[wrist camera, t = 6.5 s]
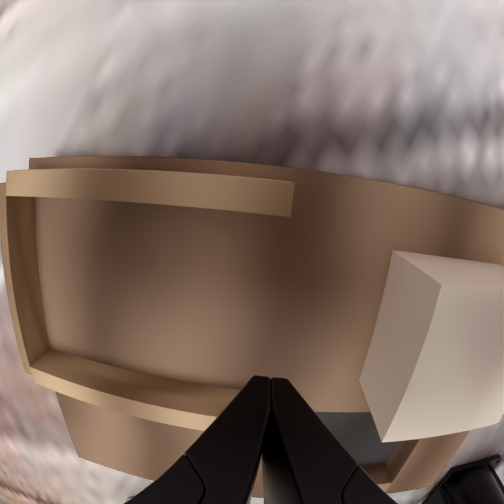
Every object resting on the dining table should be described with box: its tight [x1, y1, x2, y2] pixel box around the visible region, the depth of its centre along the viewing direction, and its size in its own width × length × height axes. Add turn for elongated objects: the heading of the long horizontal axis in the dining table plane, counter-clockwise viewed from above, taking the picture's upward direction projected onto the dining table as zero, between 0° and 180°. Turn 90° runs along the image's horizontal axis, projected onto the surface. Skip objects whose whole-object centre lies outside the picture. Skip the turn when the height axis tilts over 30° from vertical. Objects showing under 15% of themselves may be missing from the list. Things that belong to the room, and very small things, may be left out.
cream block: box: [359, 250, 504, 442], centre depth 10 cm, size 6×6×4 cm
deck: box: [29, 156, 504, 498], centre depth 13 cm, size 25×19×4 cm
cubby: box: [0, 168, 295, 431], centre depth 11 cm, size 12×10×2 cm
